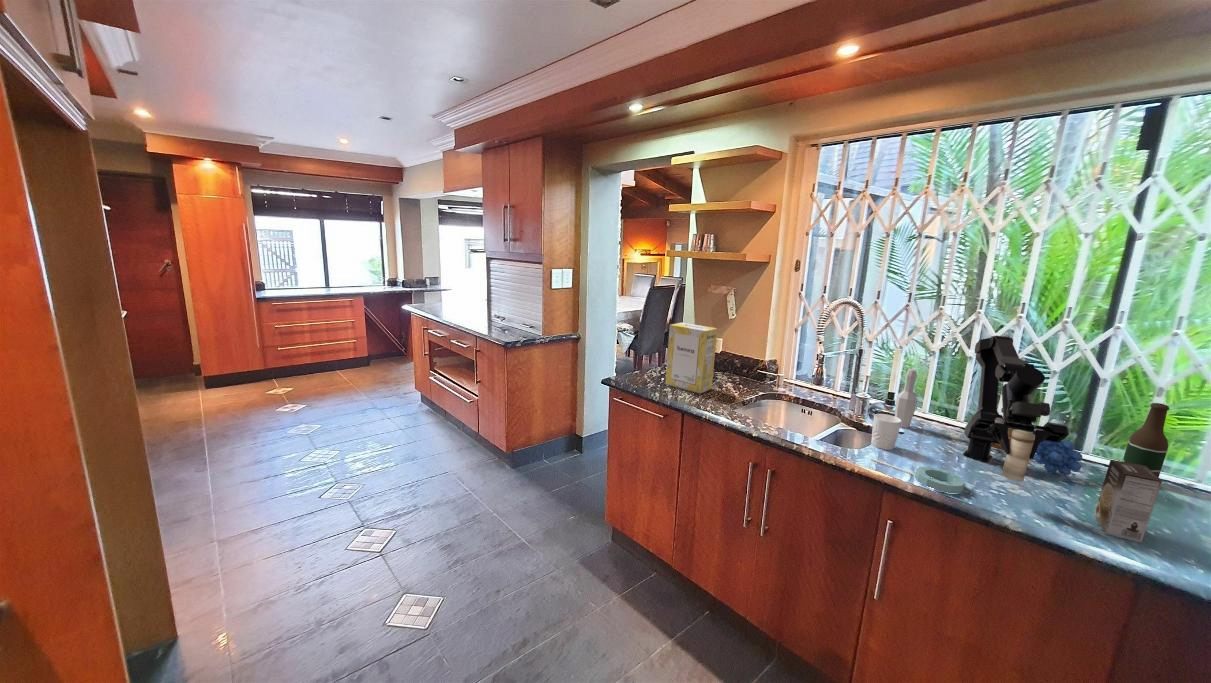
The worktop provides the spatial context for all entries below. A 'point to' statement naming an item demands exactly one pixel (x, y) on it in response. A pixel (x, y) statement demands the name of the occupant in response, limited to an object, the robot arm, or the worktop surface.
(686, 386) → the pasta box
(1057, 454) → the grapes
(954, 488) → the green ring
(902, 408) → the faceted bottle
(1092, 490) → the worktop surface
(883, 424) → the white cup
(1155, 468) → the beer bottle
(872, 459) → the thin beige stick
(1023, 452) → the wooden pepper mill
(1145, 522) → the coffee box
